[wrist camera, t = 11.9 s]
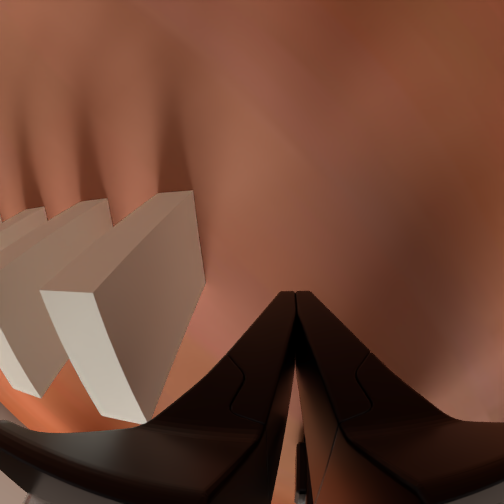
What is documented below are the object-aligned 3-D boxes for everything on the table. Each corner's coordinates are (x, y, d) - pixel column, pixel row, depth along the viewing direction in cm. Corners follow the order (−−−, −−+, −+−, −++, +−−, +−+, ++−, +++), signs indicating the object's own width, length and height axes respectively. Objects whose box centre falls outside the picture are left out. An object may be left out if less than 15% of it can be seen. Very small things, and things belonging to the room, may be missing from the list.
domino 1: (193, 190, 13) (92, 292, 6) (205, 283, 15) (148, 425, 8) (157, 193, 13) (39, 290, 6) (173, 283, 15) (101, 415, 8)
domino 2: (107, 198, 13) (-19, 284, 6) (126, 282, 15) (41, 398, 8) (80, 201, 14) (-43, 282, 6) (101, 281, 15) (13, 388, 8)
